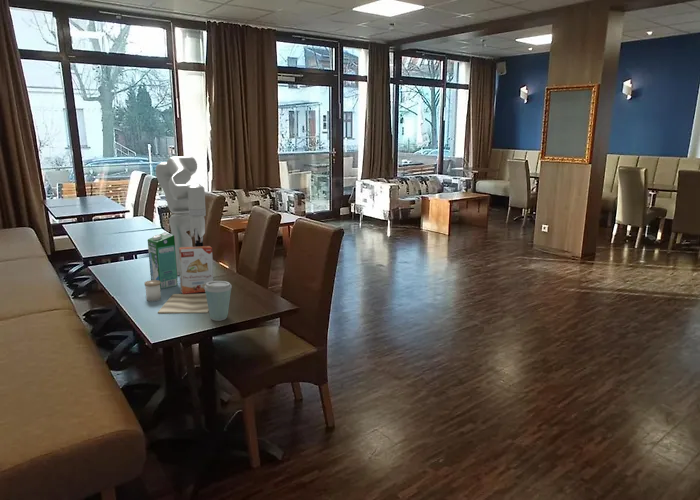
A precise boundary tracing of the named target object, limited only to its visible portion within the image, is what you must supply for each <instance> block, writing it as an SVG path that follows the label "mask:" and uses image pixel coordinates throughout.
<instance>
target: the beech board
mask: <svg viewBox="0 0 700 500" xmlns="http://www.w3.org/2000/svg"><path fill="white" fill-rule="evenodd" d="M205 313H206V314H208V313H209V309H208V303H207V298H206V293H188V294H182V293H172V295H171V296H170V297H169V298H168V299H167V301H166V302H165V303H164V304H163V305H162V306H161V308H159V310H158V311H157V314H205Z"/></svg>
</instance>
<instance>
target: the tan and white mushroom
mask: <svg viewBox="0 0 700 500" xmlns="http://www.w3.org/2000/svg"><path fill="white" fill-rule="evenodd" d="M160 284H161V282H160V281H159V280H151V279H149V280H147V281H145V282H144V286H145V297H146V301H147V302H157V301H160V300H162V293H161V289H160Z"/></svg>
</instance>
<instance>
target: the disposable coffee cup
mask: <svg viewBox="0 0 700 500" xmlns="http://www.w3.org/2000/svg"><path fill="white" fill-rule="evenodd" d="M232 286H233V285H232V284H231V283H230V282H229V281H225V280H213V281H211V282H207V283H206V285H205V286H204V289H205V292H204V294H206V298H207V303H208V309H209V311H208V313H209V317H210V319H211V320H212V321H217V322H218V321H225V320H226V319H227V318H228V315H229V307H230V301H231V293H232V288H233V287H232Z"/></svg>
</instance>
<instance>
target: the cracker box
mask: <svg viewBox="0 0 700 500" xmlns="http://www.w3.org/2000/svg"><path fill="white" fill-rule="evenodd" d="M179 261H180V275H179V278H180V279H179V282H180V283H179V284H180V292H181V294H199V293H205V289H204V286H205V285H206V283H207V282H211V281H214V265H213V264H214V263H213V261H214V260H213V247H211V246H210V245H203V246H198V247H195V246H192V247H180V248H179Z"/></svg>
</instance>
